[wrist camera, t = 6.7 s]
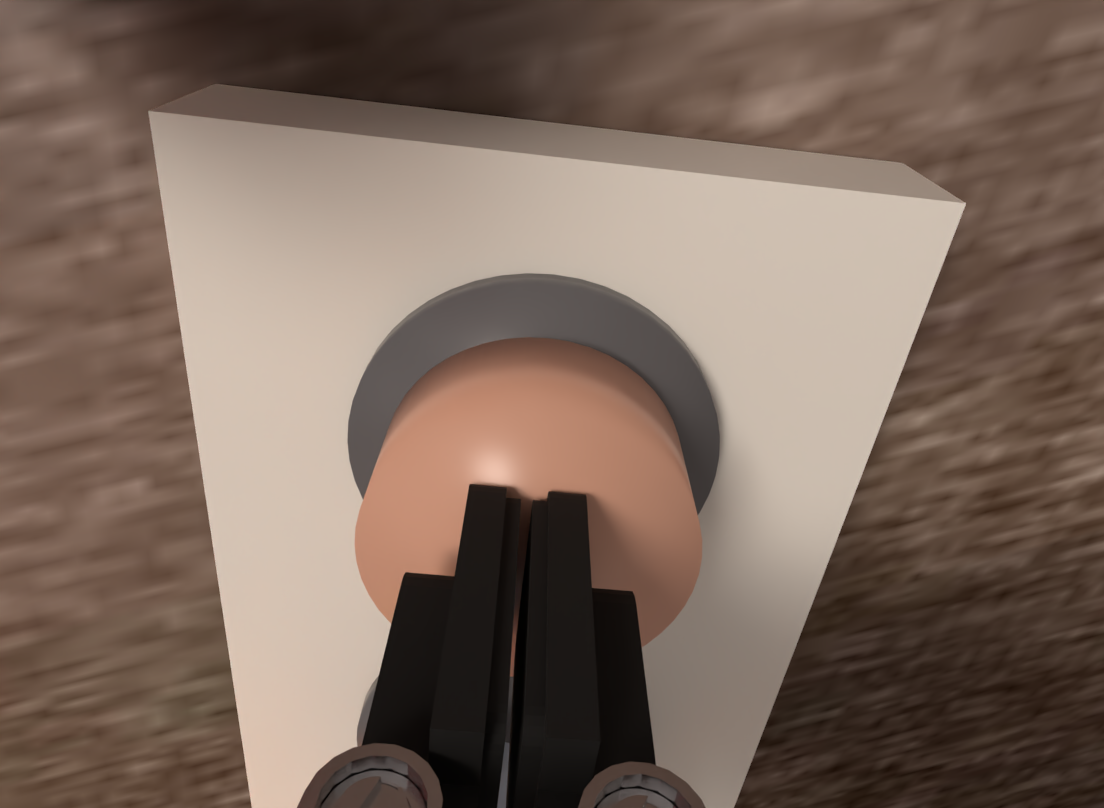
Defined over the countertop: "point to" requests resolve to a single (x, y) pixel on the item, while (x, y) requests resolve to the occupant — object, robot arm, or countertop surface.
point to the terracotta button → (535, 472)
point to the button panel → (516, 312)
